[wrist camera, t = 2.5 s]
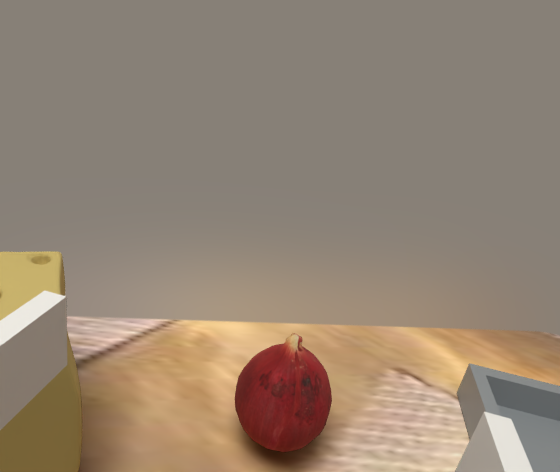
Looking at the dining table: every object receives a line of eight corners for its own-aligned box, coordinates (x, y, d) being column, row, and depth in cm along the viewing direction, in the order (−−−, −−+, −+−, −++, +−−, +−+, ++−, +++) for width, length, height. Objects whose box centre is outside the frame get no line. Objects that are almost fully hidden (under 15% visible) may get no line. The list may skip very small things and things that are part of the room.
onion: (334, 469, 26) (365, 366, 23) (245, 493, 24) (267, 382, 21) (295, 399, 31) (317, 306, 28) (218, 413, 29) (233, 313, 26)
